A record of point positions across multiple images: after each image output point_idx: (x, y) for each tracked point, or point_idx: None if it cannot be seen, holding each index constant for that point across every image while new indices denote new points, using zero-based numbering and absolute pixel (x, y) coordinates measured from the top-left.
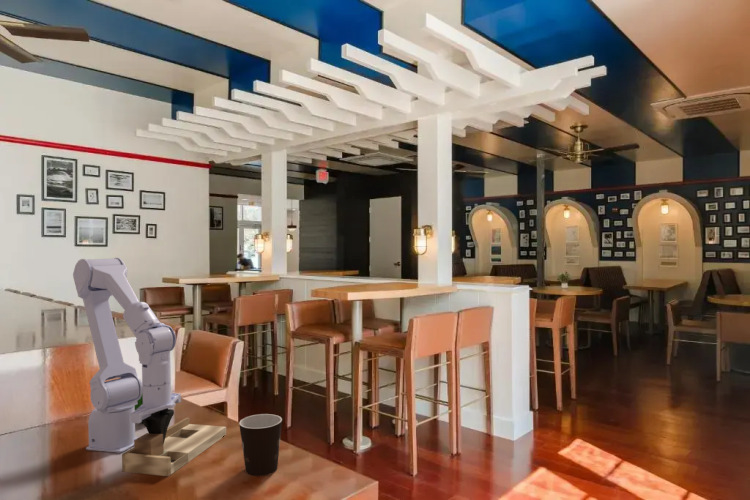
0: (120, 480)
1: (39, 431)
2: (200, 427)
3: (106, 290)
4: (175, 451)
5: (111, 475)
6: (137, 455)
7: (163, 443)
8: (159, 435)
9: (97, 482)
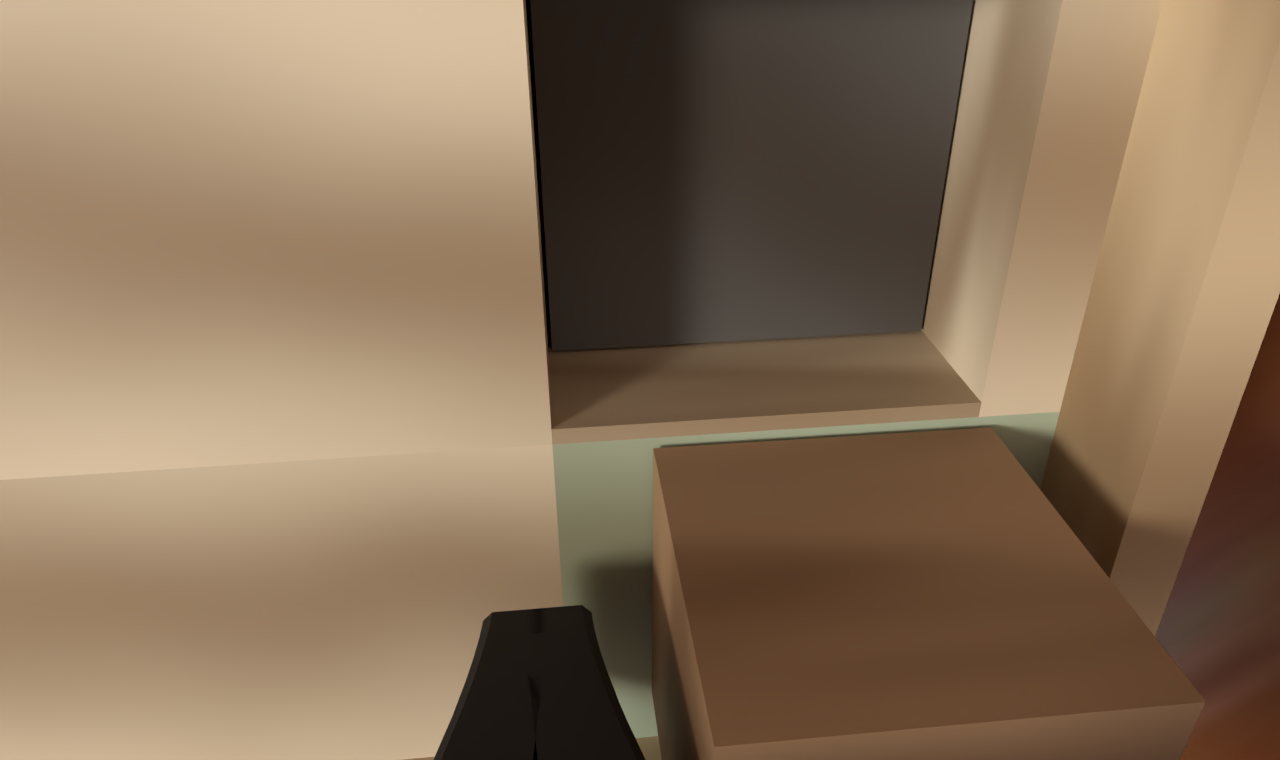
0: (1205, 509)
1: None
2: None
3: None
4: (531, 291)
5: None
6: None
7: (498, 623)
8: (823, 757)
9: (1229, 674)
